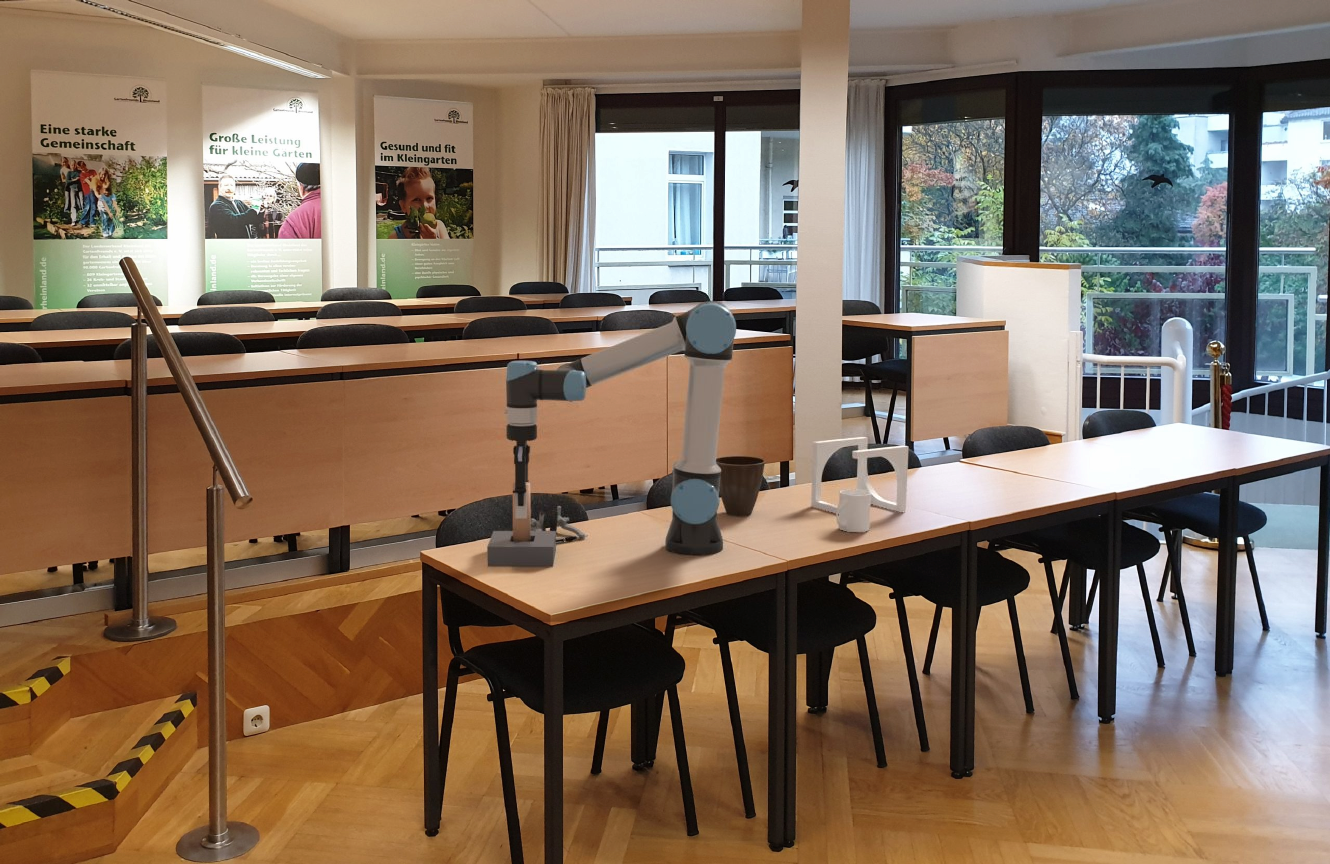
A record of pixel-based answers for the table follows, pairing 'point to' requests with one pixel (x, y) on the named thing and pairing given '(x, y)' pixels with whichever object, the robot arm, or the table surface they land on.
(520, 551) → the socket block
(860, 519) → the mug
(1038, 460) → the table surface
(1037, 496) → the table surface
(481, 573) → the table surface
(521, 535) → the peg
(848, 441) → the white piece
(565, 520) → the bike brake
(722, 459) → the plant pot
